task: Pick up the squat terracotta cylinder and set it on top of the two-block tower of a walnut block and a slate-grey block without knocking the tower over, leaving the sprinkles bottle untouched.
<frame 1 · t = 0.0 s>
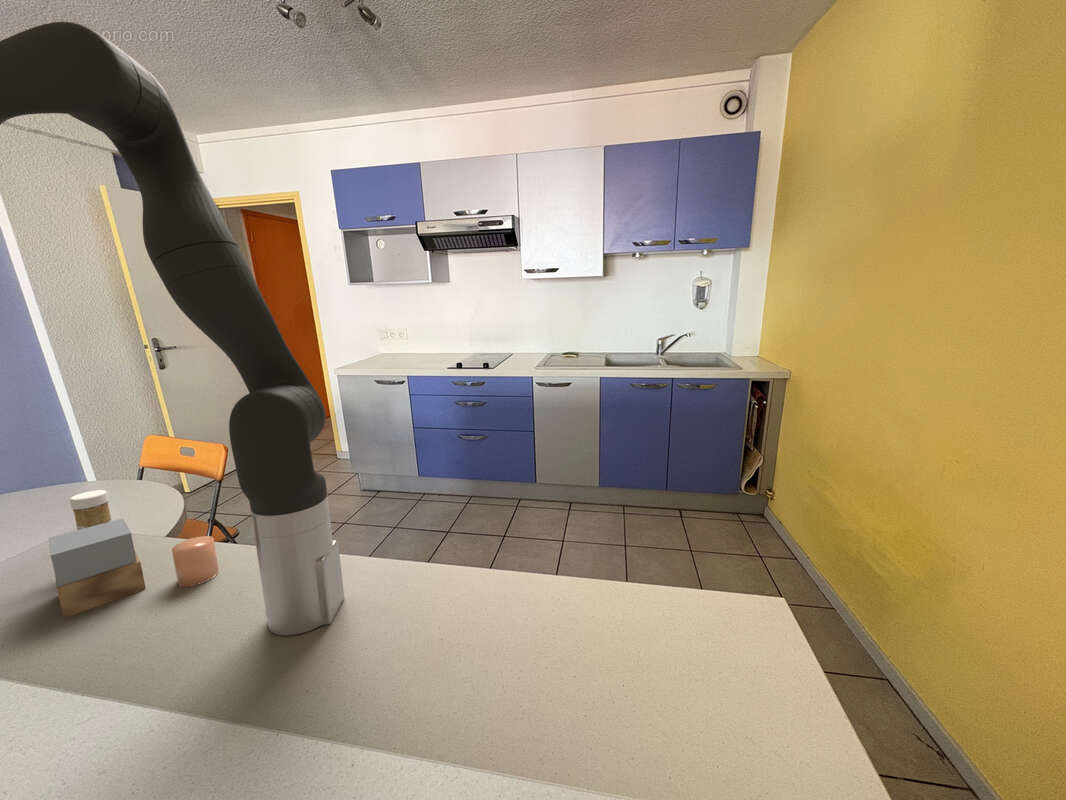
walnut base block: (103, 592, 69), on the countertop, touching slate top block
slate top block: (96, 564, 68), point 5 cm above the countertop, touching walnut base block
terracotta cylinder: (199, 577, 72), on the countertop
sprinkles bottle: (103, 565, 77), on the countertop
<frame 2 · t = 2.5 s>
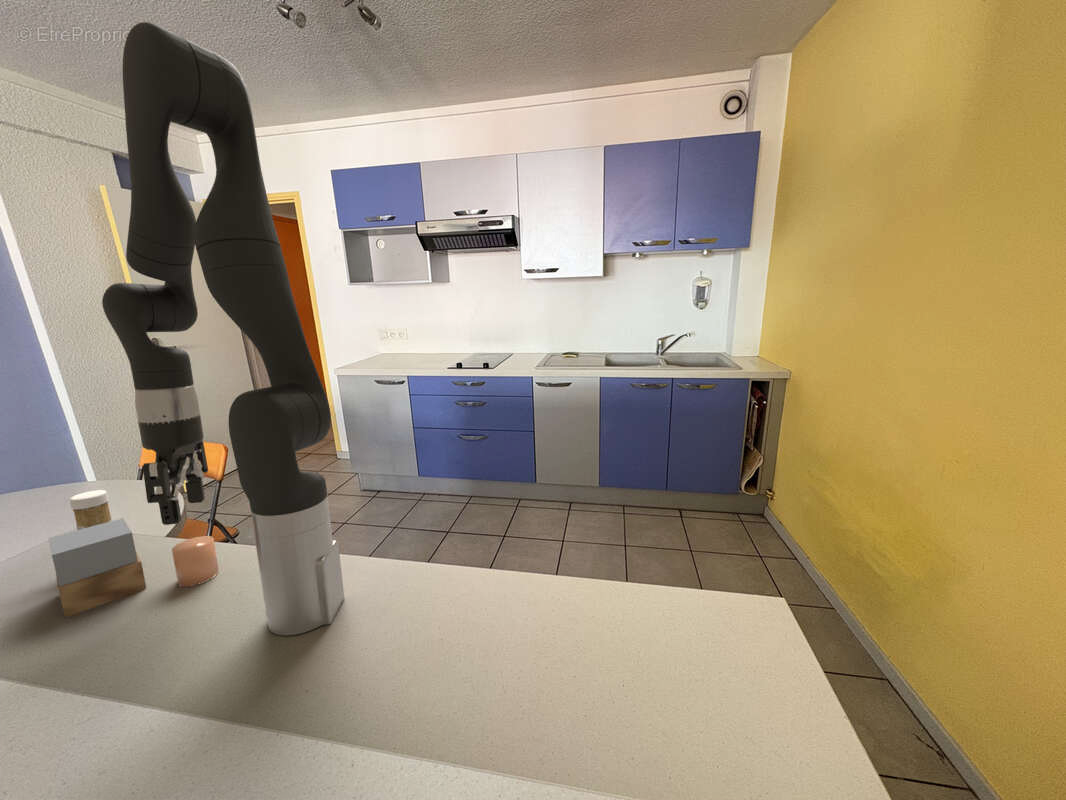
hand: (185, 512, 70), 12 cm above the countertop, tool pointing down, fingers open, 8 cm apart
nothing on the countertop moved.
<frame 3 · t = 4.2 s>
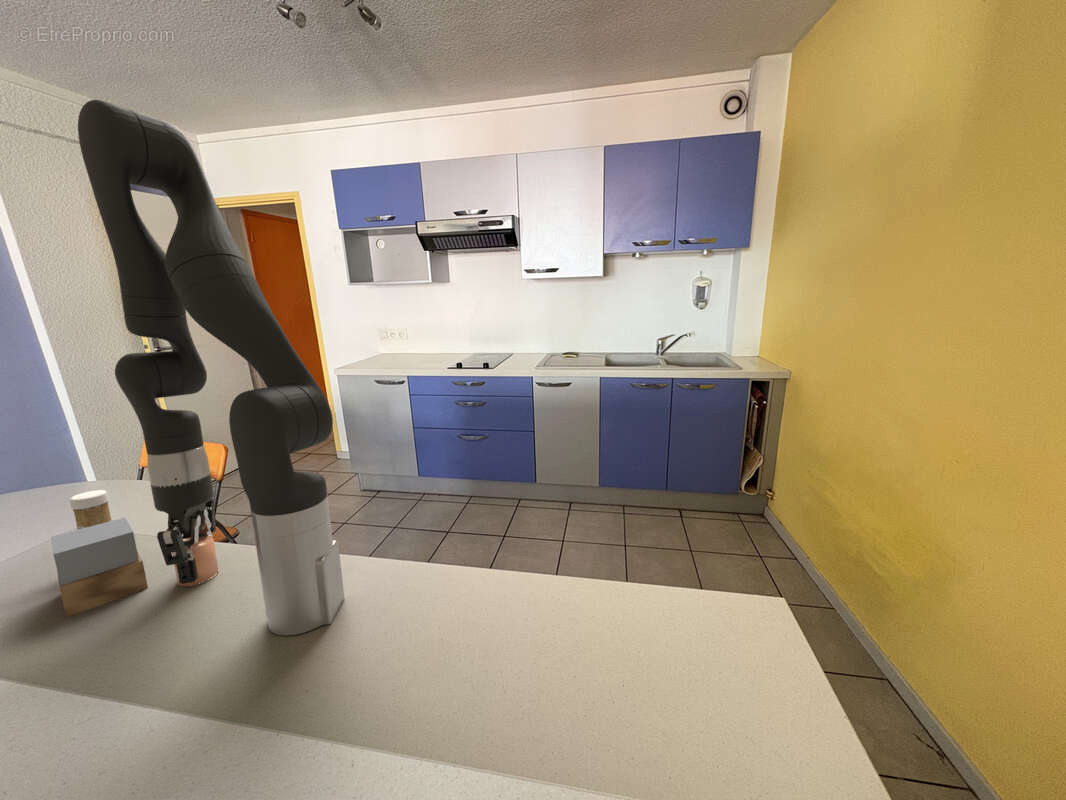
hand: (197, 571, 72), 1 cm above the countertop, tool pointing down, fingers closed on terracotta cylinder, 5 cm apart
terracotta cylinder: (198, 576, 72), on the countertop, touching gripper
everything else where it was.
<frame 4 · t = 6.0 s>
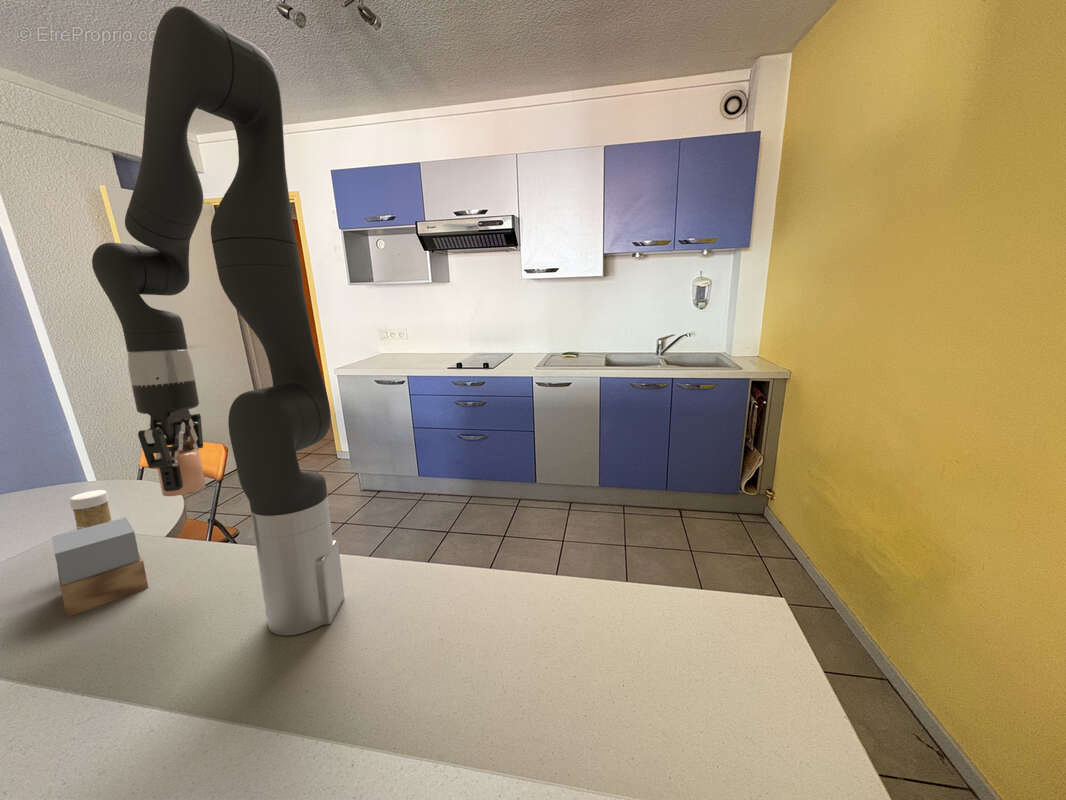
hand: (183, 483, 69), 17 cm above the countertop, tool pointing down, fingers closed on terracotta cylinder, 5 cm apart
walnut base block: (106, 591, 69), on the countertop
slate top block: (99, 563, 68), point 5 cm above the countertop
terracotta cylinder: (184, 489, 69), point 16 cm above the countertop, touching gripper
everything else where it was.
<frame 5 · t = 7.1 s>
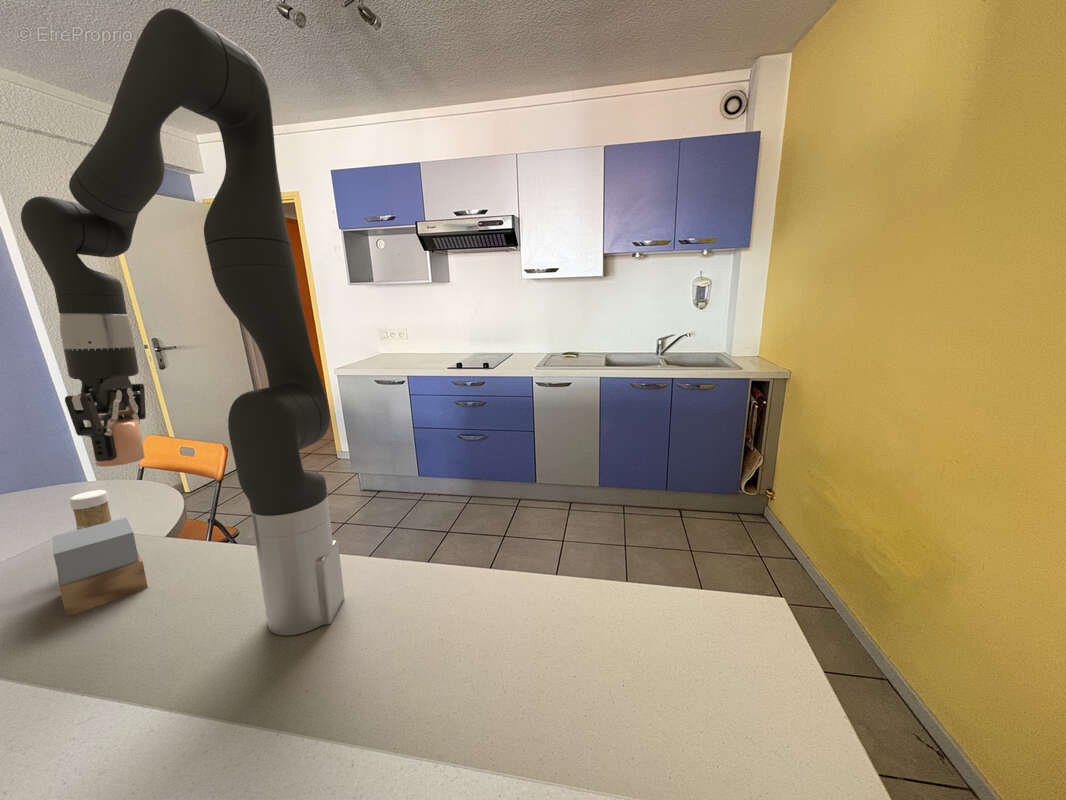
hand: (119, 454, 66), 22 cm above the countertop, tool pointing down, fingers closed on terracotta cylinder, 5 cm apart
terracotta cylinder: (121, 460, 67), point 21 cm above the countertop, touching gripper
everything else where it was.
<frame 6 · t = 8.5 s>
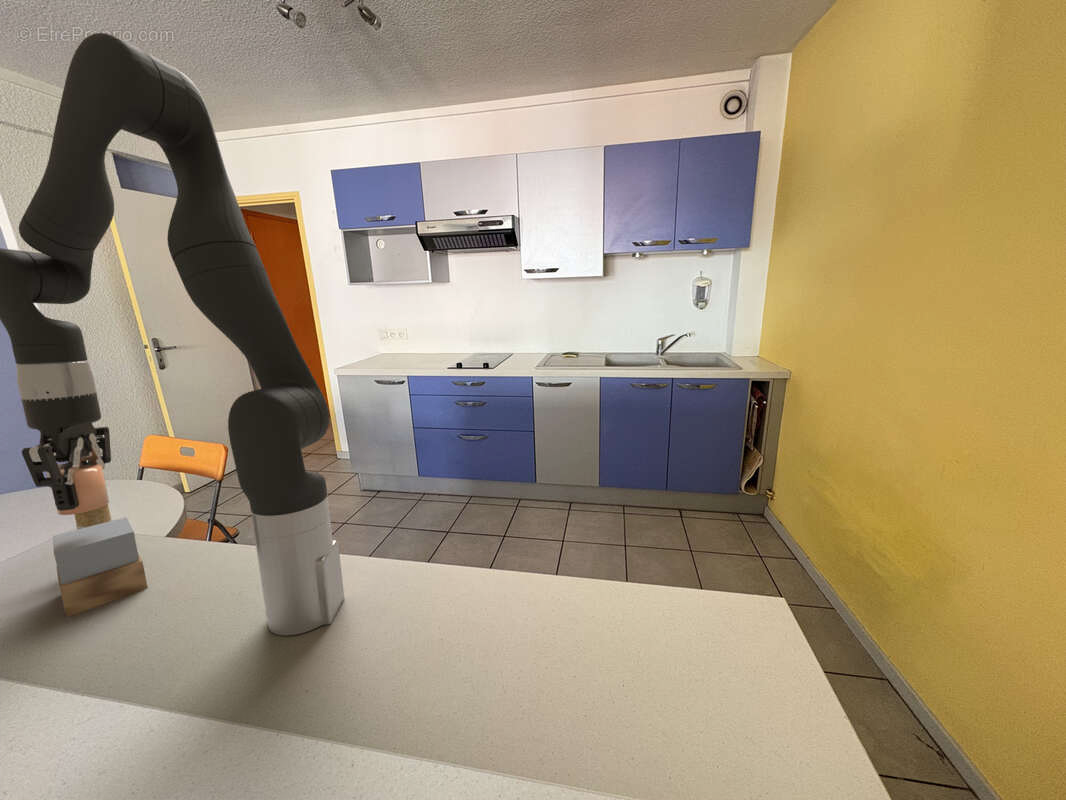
hand: (83, 500, 66), 15 cm above the countertop, tool pointing down, fingers closed on terracotta cylinder, 5 cm apart
terracotta cylinder: (84, 507, 66), point 14 cm above the countertop, touching gripper
everything else where it was.
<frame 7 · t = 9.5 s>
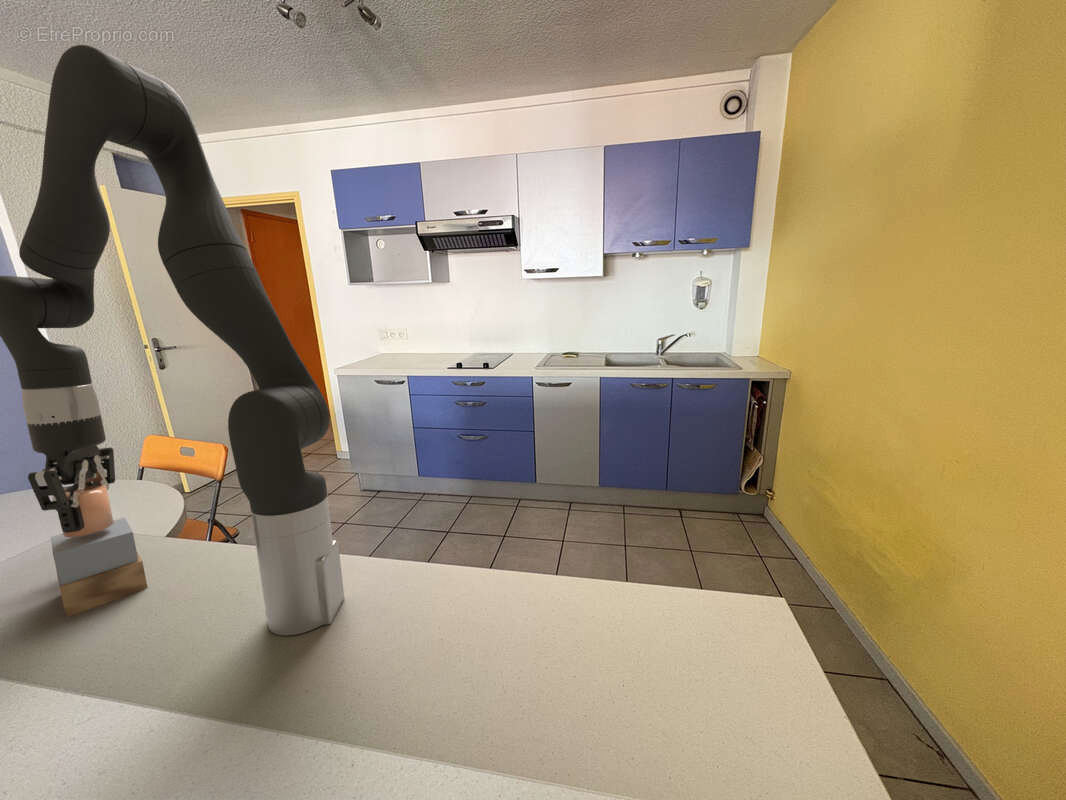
hand: (88, 522, 66), 12 cm above the countertop, tool pointing down, fingers closed on terracotta cylinder, 5 cm apart
walnut base block: (105, 592, 69), on the countertop, touching slate top block
slate top block: (98, 563, 68), point 5 cm above the countertop, touching walnut base block
terracotta cylinder: (89, 528, 67), point 11 cm above the countertop, touching gripper
everything else where it was.
when the fingers open (12 cm above the countertop, at t = 9.9 s): terracotta cylinder moves 1 cm, resting on slate top block.
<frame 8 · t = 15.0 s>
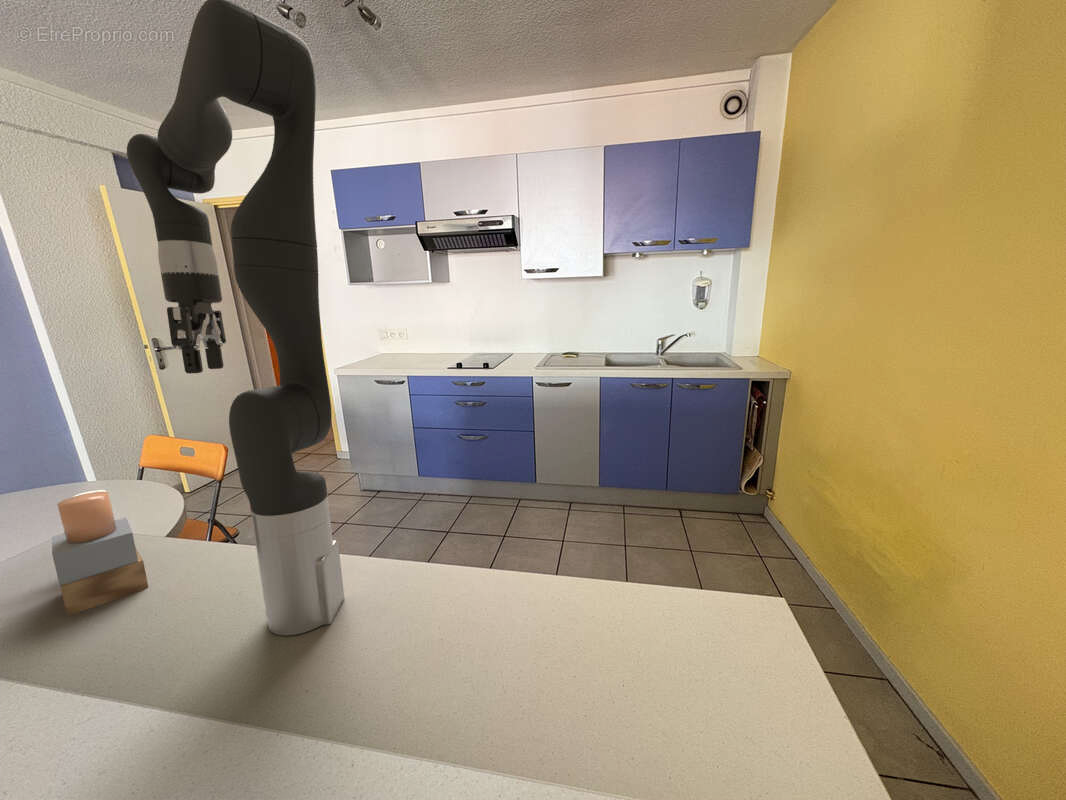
hand: (206, 370, 73), 34 cm above the countertop, tool pointing down, fingers open, 8 cm apart
slate top block: (98, 563, 68), point 5 cm above the countertop, touching terracotta cylinder, walnut base block
terracotta cylinder: (92, 534, 67), point 10 cm above the countertop, touching slate top block
everything else where it was.
at the end: terracotta cylinder 0.1 cm off-centre on the slate top block, point 5.1 cm above the slate top block's base; slate top block 0.1 cm off-centre on the walnut base block, point 5.0 cm above the walnut base block's base; terracotta cylinder tilted 1° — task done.
